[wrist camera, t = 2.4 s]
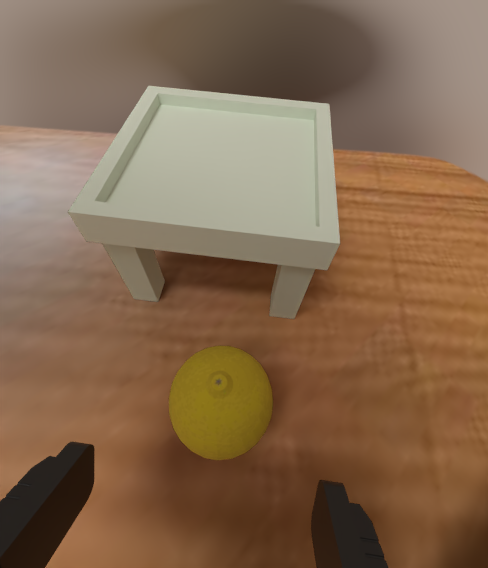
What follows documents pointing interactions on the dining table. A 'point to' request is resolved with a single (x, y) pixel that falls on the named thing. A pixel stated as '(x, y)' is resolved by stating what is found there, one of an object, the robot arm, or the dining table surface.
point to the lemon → (220, 402)
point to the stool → (216, 189)
